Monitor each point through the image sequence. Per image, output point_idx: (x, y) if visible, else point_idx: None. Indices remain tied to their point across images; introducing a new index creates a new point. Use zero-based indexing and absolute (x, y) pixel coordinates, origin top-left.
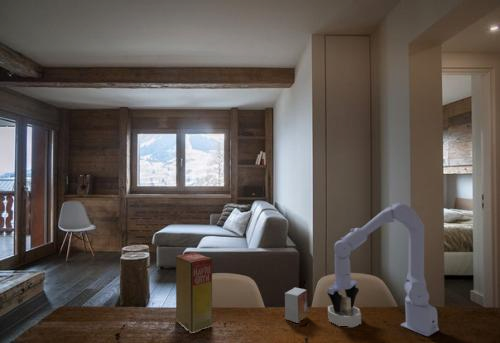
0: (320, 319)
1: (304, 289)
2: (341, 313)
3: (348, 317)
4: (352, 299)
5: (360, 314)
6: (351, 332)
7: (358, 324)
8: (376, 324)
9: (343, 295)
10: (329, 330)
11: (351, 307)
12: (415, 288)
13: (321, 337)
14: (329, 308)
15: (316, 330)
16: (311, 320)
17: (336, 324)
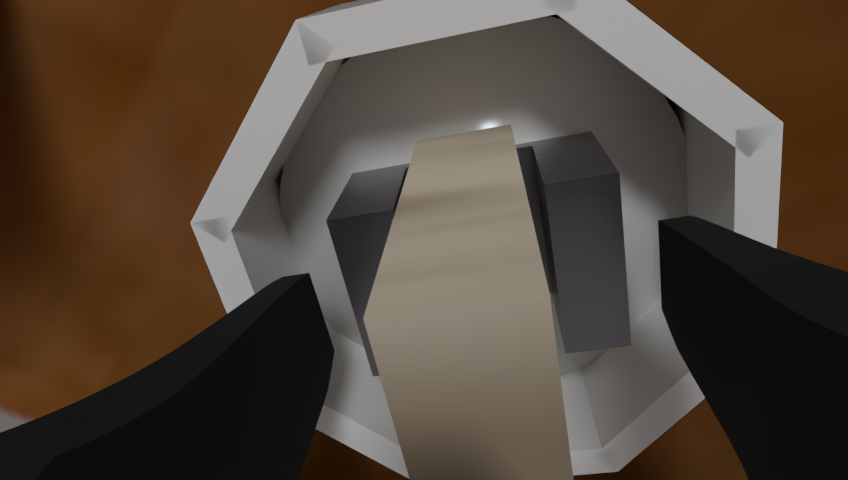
0: (166, 59)
1: None
2: (366, 346)
3: (382, 457)
4: (735, 423)
5: (604, 466)
6: (350, 450)
7: None
8: (731, 448)
9: (558, 414)
10: (152, 338)
11: (662, 299)
12: None
13: (16, 402)
14: (276, 121)
15: (7, 282)
16: (20, 28)
17: None
